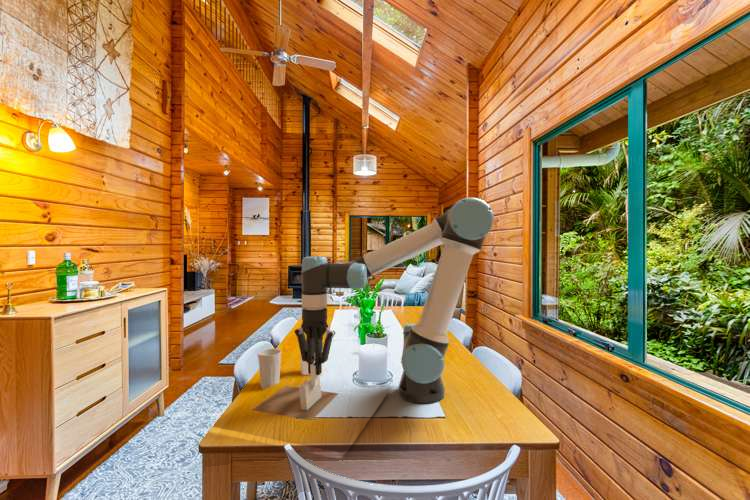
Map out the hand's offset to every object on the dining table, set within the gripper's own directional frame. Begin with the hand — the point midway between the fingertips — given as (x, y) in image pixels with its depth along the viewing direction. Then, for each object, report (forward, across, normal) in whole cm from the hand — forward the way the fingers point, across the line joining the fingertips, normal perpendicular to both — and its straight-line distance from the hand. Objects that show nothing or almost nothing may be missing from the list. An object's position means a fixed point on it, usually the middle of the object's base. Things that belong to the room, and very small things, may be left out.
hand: (314, 384), depth 107 cm
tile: (+6, +1, 0) cm, 6 cm away
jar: (+8, +14, -24) cm, 29 cm away
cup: (+8, +23, -10) cm, 26 cm away
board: (+7, +6, 0) cm, 10 cm away
